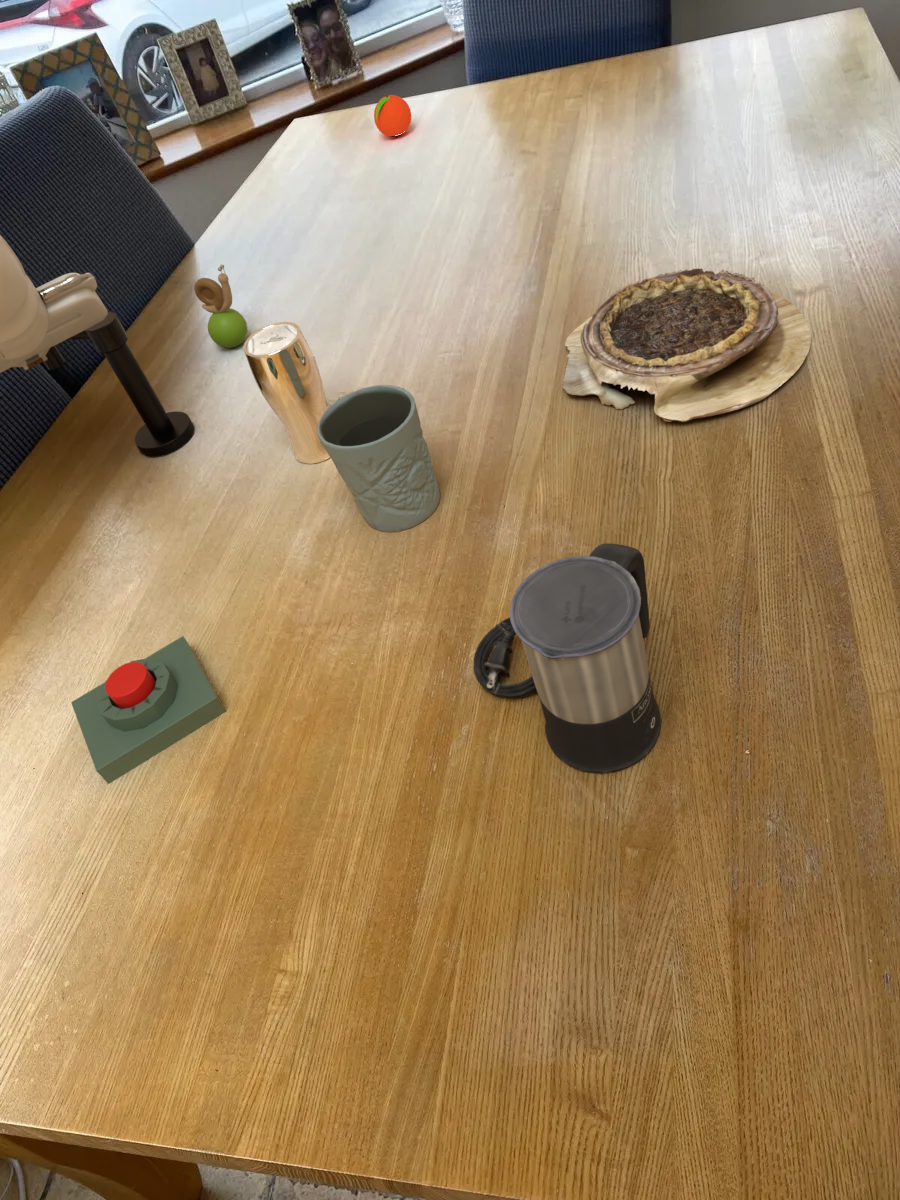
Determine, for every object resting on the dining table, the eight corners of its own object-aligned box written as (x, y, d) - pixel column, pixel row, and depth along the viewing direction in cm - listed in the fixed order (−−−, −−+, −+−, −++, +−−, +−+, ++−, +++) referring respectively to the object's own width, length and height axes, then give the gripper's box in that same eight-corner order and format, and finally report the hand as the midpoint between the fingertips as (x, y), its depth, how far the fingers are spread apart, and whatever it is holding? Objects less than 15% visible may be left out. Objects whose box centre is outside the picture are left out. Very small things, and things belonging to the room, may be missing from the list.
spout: (39, 373, 119) (11, 330, 115) (59, 355, 121) (32, 312, 117) (128, 377, 112) (101, 331, 108) (147, 357, 115) (122, 311, 110)
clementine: (399, 146, 172) (387, 106, 167) (369, 146, 175) (357, 107, 170) (422, 126, 176) (412, 86, 171) (393, 127, 179) (382, 88, 174)
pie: (576, 299, 120) (570, 263, 117) (805, 271, 111) (805, 232, 108) (547, 438, 102) (539, 400, 99) (817, 417, 94) (818, 375, 90)
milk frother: (660, 777, 71) (639, 652, 60) (458, 775, 75) (407, 658, 65) (664, 633, 80) (646, 503, 70) (484, 638, 85) (443, 517, 74)
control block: (108, 784, 84) (85, 759, 81) (82, 715, 91) (60, 690, 88) (227, 711, 86) (208, 685, 84) (192, 649, 93) (174, 623, 90)
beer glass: (316, 424, 115) (270, 317, 105) (358, 435, 112) (314, 324, 101) (280, 459, 112) (228, 352, 102) (321, 471, 108) (272, 361, 98)
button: (120, 715, 84) (110, 704, 83) (109, 689, 87) (99, 677, 86) (160, 691, 85) (151, 680, 84) (148, 666, 88) (139, 654, 87)
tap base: (149, 465, 119) (92, 372, 109) (133, 440, 124) (77, 349, 114) (202, 436, 120) (151, 341, 110) (184, 413, 125) (133, 320, 116)
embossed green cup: (452, 521, 97) (421, 427, 88) (359, 549, 97) (319, 459, 89) (437, 463, 104) (407, 372, 95) (350, 490, 105) (313, 402, 96)
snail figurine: (248, 354, 132) (212, 276, 124) (211, 356, 134) (173, 279, 126) (265, 332, 135) (231, 255, 127) (228, 334, 138) (192, 258, 129)
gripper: (74, 243, 100) (98, 297, 114) (-108, 331, 96) (-61, 376, 110) (106, 294, 100) (126, 341, 114) (-75, 384, 96) (-32, 422, 110)
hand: (33, 359), depth 112 cm, fingers closed
